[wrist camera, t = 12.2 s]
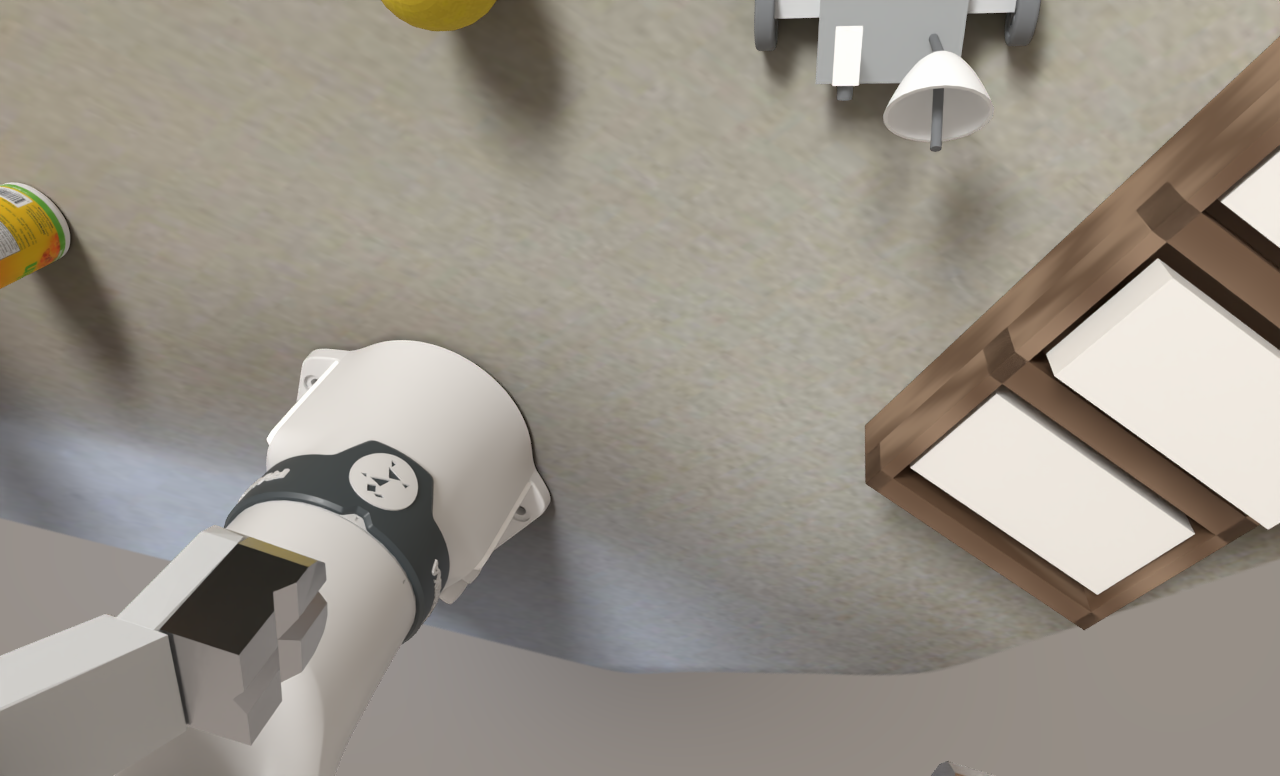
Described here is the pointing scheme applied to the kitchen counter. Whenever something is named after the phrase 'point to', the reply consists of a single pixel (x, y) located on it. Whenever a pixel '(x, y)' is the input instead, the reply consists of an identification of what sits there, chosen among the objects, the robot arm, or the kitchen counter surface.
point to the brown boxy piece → (1062, 300)
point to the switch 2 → (1184, 384)
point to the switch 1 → (1052, 491)
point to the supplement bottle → (29, 232)
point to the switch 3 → (1258, 197)
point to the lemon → (439, 12)
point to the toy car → (903, 56)
